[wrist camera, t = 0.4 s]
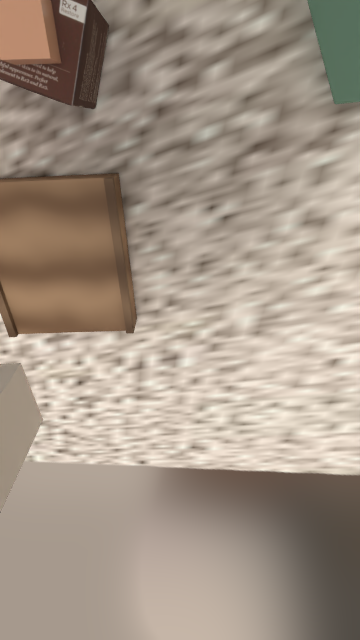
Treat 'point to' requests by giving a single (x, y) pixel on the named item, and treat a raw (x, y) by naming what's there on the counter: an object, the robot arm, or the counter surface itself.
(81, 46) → the box
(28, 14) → the tan rounded cube
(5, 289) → the dock
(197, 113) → the counter surface
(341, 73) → the box
